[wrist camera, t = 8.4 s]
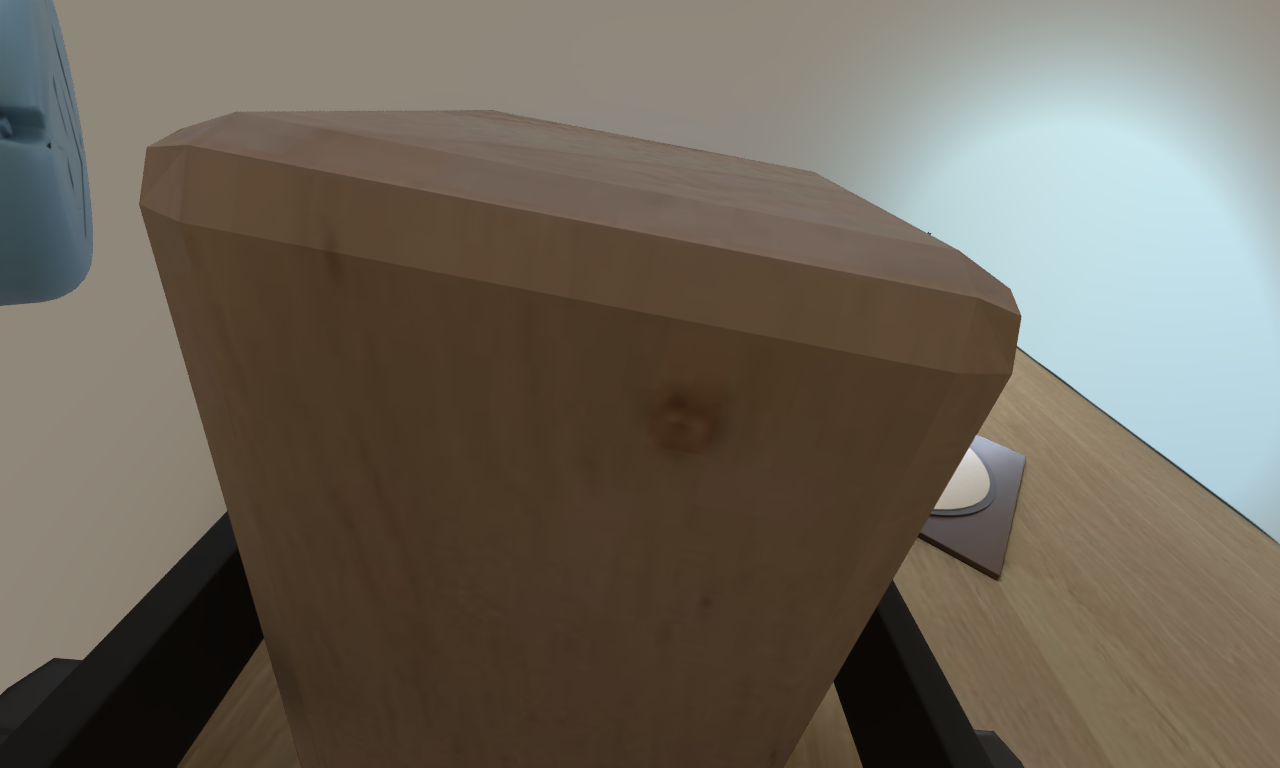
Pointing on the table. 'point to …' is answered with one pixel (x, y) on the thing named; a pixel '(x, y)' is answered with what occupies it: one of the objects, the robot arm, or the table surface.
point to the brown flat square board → (978, 507)
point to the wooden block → (559, 426)
